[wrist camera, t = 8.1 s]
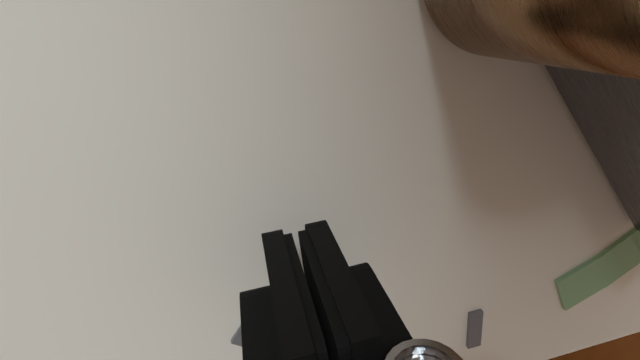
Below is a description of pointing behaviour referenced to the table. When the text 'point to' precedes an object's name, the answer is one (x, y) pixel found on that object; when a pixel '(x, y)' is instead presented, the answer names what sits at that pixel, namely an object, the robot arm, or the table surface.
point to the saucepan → (569, 66)
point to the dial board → (290, 179)
